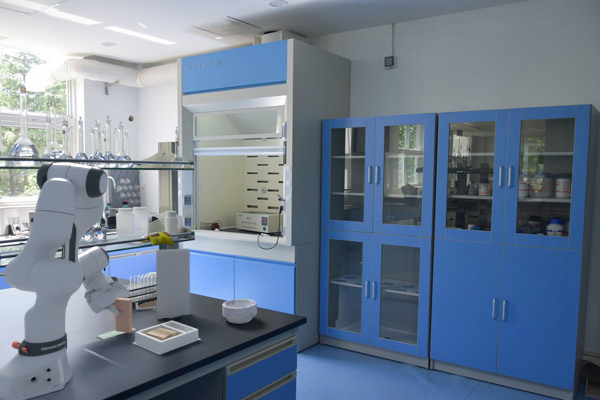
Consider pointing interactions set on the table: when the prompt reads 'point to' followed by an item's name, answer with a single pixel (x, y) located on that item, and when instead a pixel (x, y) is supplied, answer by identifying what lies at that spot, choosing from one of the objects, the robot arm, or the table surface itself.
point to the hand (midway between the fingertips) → (122, 312)
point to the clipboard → (147, 306)
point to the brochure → (173, 283)
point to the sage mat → (111, 334)
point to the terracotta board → (124, 315)
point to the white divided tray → (157, 346)
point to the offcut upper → (161, 334)
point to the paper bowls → (239, 310)
